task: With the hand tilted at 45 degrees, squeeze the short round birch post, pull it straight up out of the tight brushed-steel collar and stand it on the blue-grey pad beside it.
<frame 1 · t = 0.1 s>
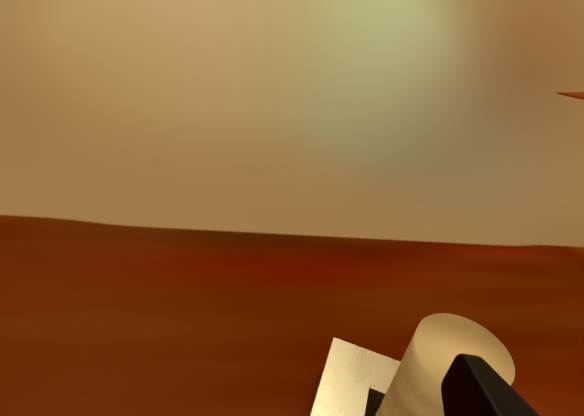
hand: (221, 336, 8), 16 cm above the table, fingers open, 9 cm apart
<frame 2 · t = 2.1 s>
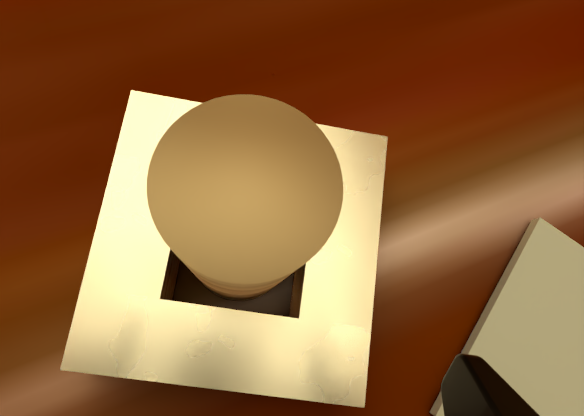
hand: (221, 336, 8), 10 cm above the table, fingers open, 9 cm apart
post: (240, 252, 19), resting in collar
collar: (240, 252, 19), on the table
pad: (579, 376, 19), on the table
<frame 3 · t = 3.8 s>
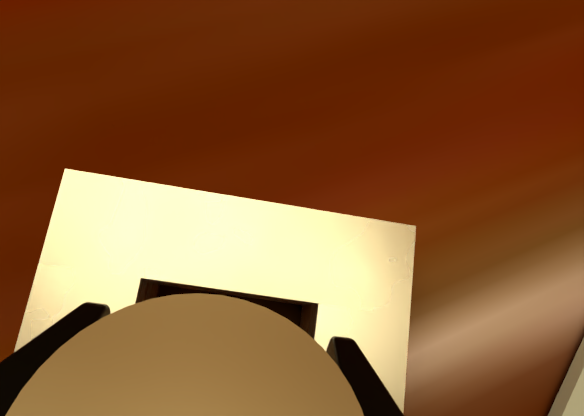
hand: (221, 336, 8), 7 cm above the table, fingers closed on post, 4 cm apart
post: (219, 370, 14), resting in collar, touching gripper
collar: (219, 370, 14), on the table
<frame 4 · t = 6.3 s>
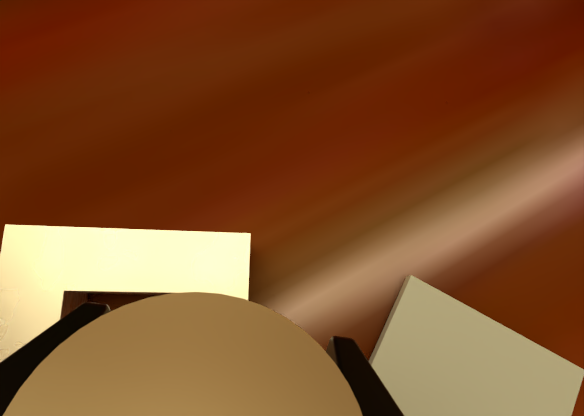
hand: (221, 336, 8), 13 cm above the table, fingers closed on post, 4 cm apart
post: (219, 369, 14), point 7 cm above the table, touching gripper
collar: (135, 347, 20), on the table
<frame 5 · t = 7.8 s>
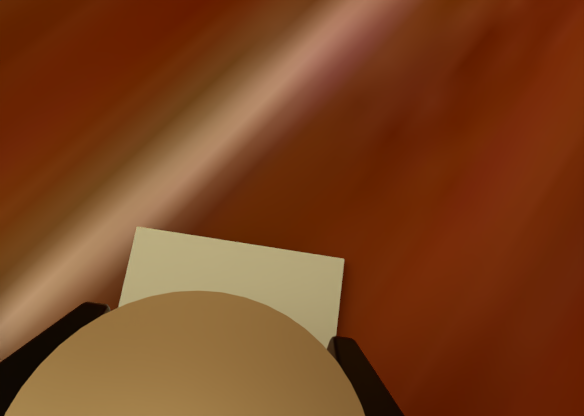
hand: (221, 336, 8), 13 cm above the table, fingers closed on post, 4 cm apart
post: (219, 369, 14), point 6 cm above the table, touching gripper
pad: (224, 350, 20), on the table
when the fingers open (8 cm above the table, at t = 9.1 s): post drops 1 cm, resting on pad.
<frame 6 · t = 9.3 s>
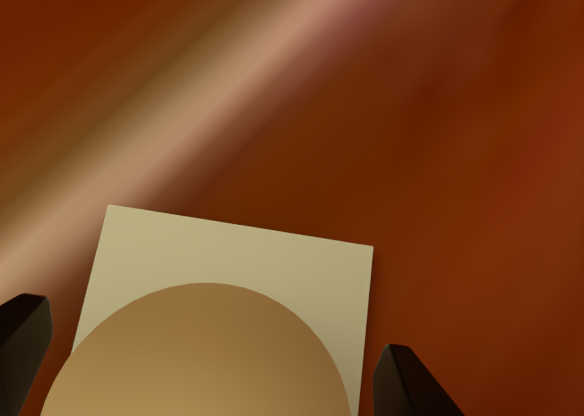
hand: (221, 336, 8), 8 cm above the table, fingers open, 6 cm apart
post: (220, 366, 15), point 1 cm above the table, touching pad
pad: (221, 363, 16), on the table
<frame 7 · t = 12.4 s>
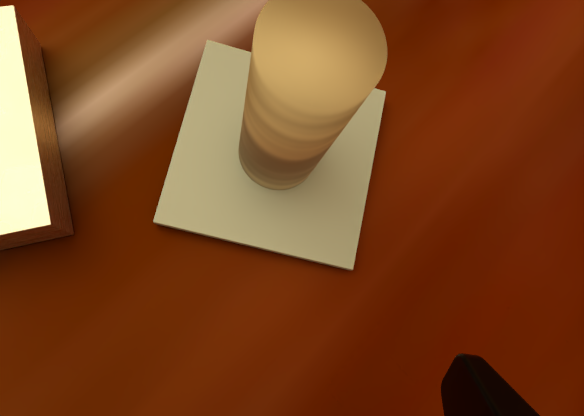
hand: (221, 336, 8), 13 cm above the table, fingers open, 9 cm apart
post: (277, 152, 23), point 1 cm above the table, touching pad
pad: (276, 155, 23), on the table
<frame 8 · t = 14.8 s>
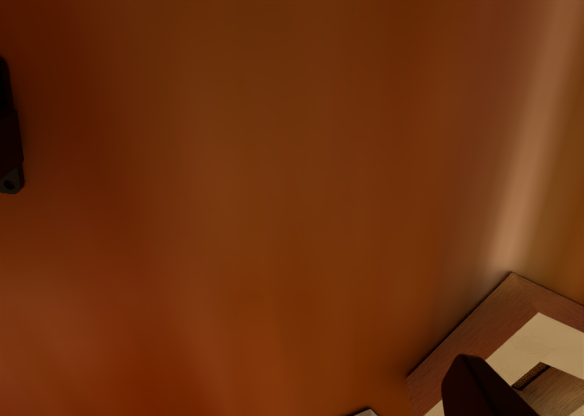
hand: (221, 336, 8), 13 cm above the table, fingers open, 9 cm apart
collar: (518, 357, 27), on the table
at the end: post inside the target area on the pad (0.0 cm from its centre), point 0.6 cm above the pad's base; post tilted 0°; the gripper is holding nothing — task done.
